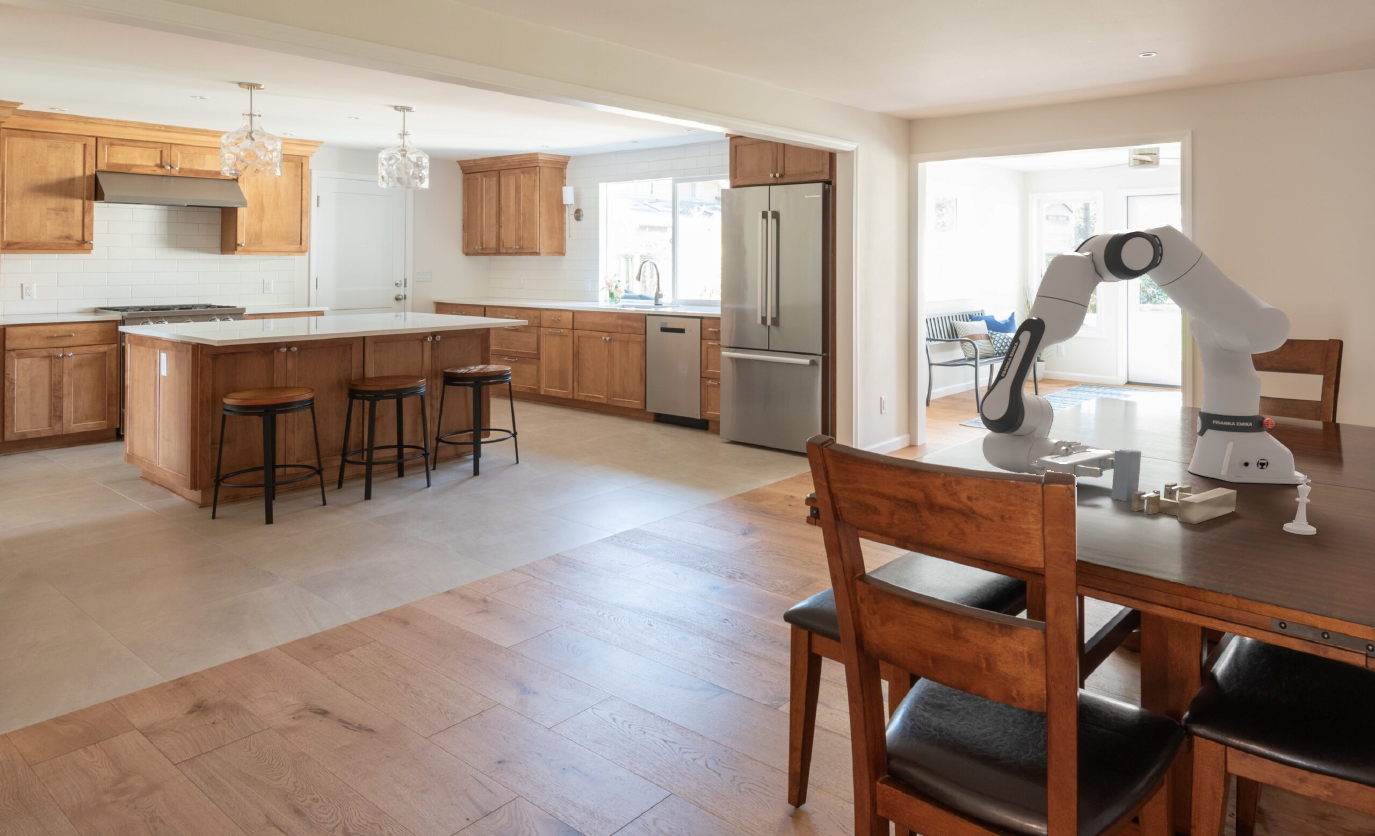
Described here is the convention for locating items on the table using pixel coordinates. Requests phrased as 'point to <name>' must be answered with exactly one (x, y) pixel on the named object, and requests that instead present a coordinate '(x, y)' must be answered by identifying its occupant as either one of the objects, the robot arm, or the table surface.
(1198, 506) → the light wooden frame
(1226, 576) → the table surface
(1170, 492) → the plunger
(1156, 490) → the plunger
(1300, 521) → the chess piece
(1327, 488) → the table surface
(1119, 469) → the peg
